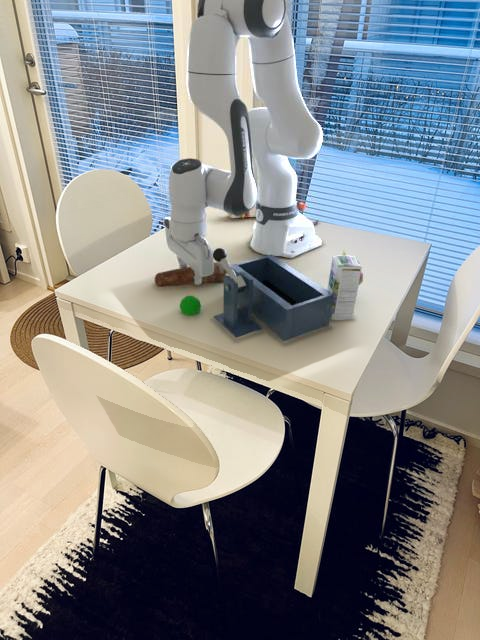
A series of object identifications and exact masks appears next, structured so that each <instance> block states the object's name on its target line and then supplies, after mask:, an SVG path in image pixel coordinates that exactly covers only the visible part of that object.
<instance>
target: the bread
mask: <svg viewBox="0 0 480 640" xmlns="http://www.w3.org/2000/svg"><path fill="white" fill-rule="evenodd" d="M226 275H228V273H227V272H226V270H225V268H224V267H223V265H222V264H221V262H217V261H214V272H213V274H212V275H209V276H205V277H202V283H201V284H210V283H224V276H226ZM193 277H195V273H194V270H193V269H192V268H190V267H189V266H188V267H185V268H174V269H170V270H165V271H161V272H158V273H156V274H155V276H154V283H155V286H157V287H159V288H160V287H172V286H186V285H196V284H195V283H194V282H193Z"/></svg>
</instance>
